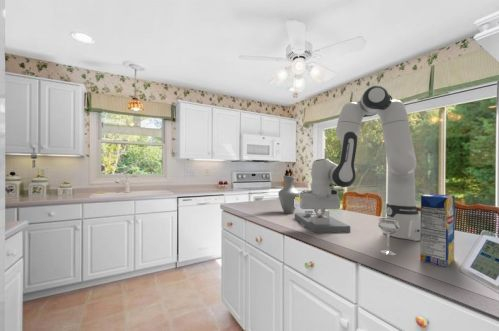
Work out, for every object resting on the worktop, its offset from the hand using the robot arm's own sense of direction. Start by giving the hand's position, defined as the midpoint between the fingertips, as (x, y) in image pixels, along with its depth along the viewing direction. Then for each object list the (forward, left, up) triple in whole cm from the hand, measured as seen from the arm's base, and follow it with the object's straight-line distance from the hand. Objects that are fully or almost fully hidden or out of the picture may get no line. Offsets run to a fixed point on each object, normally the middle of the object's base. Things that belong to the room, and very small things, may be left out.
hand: (319, 217), depth 120 cm
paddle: (-7, -10, -2) cm, 12 cm away
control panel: (-4, -9, -6) cm, 11 cm away
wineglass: (-13, +34, -6) cm, 37 cm away
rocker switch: (0, -16, 0) cm, 16 cm away
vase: (+4, -43, -6) cm, 44 cm away
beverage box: (-25, +42, -6) cm, 49 cm away
